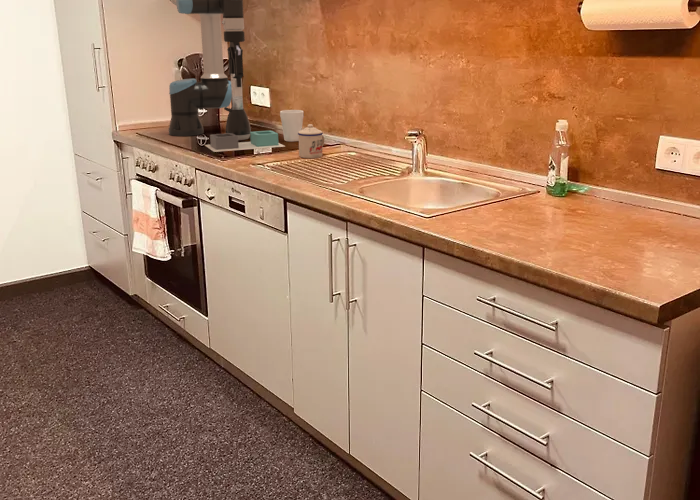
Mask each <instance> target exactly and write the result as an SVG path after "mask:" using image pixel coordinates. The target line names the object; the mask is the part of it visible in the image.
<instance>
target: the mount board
mask: <svg viewBox="0 0 700 500" xmlns="http://www.w3.org/2000/svg"><path fill="white" fill-rule="evenodd" d="M209 138H210V139H209V140H210V144H204V146H205V147H206V148H208V149H209V150H211V151H212V152H213V153H215V152H216V153H217V152H218V153H219V152H228V151H229V152H230V151H232V152H233V151H243V150H257V149H270V148H281V147H282V148H284V147H286V145H284V144H281V143H280V142H278V144H279V145H273V146H260V147H257V146H255V145H253V144H251V141H241V142H239V140H238V136H236V135H235V134H233V133H226V132H225V133H216V134H215V133H214V134H209Z"/></svg>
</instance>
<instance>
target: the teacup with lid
mask: <svg viewBox="0 0 700 500" xmlns="http://www.w3.org/2000/svg"><path fill="white" fill-rule="evenodd" d="M323 134H324V133H323V131H322V130H320V129H318V128H317V127H314V125H313V124H310V123H309V124H307V127H304V128H302V130H300V131H299V132H298V135H299V141H298V156H299V157H300V158H304V159H318V158H321V157H322V156H323V147H324V144H325V136H324V135H323Z"/></svg>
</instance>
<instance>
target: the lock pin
mask: <svg viewBox="0 0 700 500" xmlns="http://www.w3.org/2000/svg"><path fill="white" fill-rule="evenodd" d="M234 76H235V74H231V75H230V81H231V90H232V99H231V103H232V107H231V108H232V109H234V110H241V109H243V108H244V100H243V96H235V86H234V78H233V77H234Z"/></svg>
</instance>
